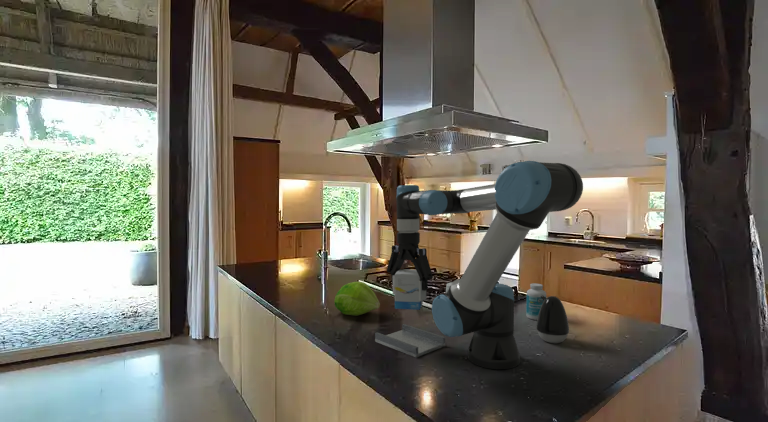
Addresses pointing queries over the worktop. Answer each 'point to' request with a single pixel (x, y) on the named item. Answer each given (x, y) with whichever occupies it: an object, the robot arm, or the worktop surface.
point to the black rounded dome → (552, 320)
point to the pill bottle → (534, 300)
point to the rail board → (411, 341)
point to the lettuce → (356, 299)
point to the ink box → (407, 290)
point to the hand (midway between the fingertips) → (409, 296)
